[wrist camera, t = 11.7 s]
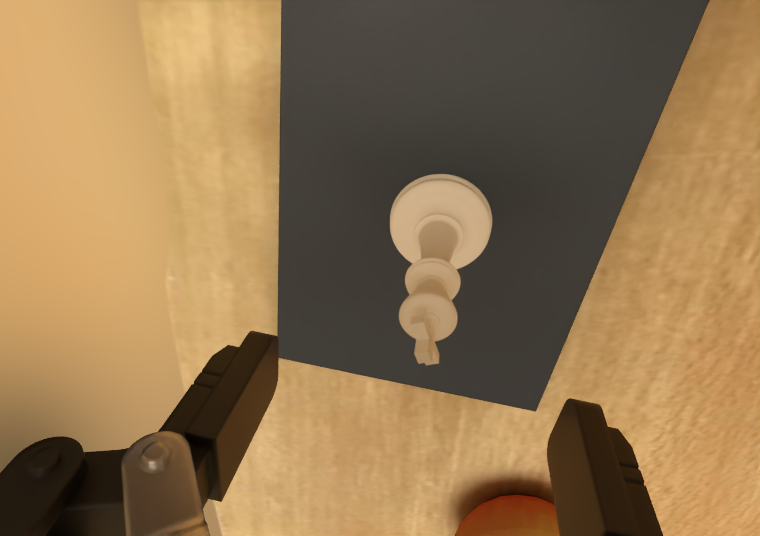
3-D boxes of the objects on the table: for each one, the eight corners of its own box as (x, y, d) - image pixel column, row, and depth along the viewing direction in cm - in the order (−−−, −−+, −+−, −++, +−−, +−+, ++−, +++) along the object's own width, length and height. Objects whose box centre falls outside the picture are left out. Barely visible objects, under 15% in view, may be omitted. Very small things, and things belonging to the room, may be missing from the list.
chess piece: (407, 275, 25) (375, 423, 16) (376, 189, 23) (319, 307, 14) (502, 254, 23) (521, 404, 15) (477, 160, 21) (483, 272, 13)
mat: (286, -76, 18) (282, -77, 18) (711, -18, 17) (717, -18, 17) (279, 352, 30) (277, 357, 29) (534, 405, 28) (535, 411, 28)
